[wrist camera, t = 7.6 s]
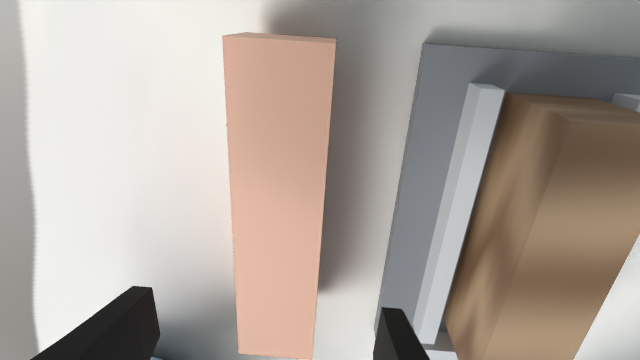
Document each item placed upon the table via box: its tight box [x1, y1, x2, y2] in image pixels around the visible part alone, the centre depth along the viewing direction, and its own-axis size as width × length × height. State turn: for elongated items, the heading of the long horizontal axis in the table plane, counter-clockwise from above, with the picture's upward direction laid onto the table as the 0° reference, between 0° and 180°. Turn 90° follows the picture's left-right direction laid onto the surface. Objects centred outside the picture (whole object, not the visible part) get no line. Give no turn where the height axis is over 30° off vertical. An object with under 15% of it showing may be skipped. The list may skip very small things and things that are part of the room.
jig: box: [374, 43, 640, 360], centre depth 19 cm, size 18×12×2 cm, turn 176°
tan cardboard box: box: [443, 92, 640, 360], centre depth 17 cm, size 14×4×5 cm, turn 177°
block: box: [222, 32, 337, 360], centre depth 18 cm, size 16×4×4 cm, turn 177°
